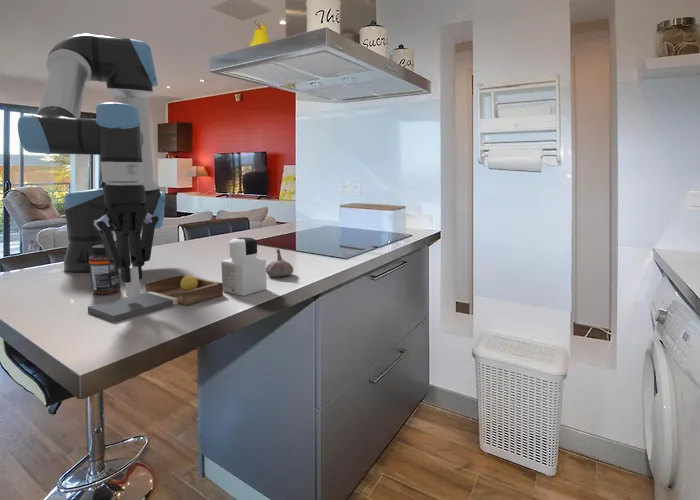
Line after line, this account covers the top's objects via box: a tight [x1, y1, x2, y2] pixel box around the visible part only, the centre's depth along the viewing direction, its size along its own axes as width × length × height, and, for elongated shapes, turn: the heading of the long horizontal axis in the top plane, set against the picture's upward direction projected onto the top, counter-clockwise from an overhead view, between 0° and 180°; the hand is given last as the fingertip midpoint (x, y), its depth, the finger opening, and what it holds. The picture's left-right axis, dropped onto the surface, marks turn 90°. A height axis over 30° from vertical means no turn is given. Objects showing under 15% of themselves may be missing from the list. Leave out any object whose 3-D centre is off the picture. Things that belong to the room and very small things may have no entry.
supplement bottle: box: [89, 245, 121, 296], centre depth 101 cm, size 6×6×11 cm
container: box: [221, 237, 268, 297], centre depth 103 cm, size 8×8×13 cm
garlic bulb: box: [266, 248, 294, 279], centre depth 119 cm, size 8×7×8 cm
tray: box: [145, 273, 224, 307], centre depth 100 cm, size 15×10×3 cm, turn 57°
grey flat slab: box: [87, 291, 179, 323], centre depth 90 cm, size 10×14×1 cm
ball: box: [180, 275, 198, 291], centre depth 101 cm, size 4×4×4 cm
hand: (133, 296), depth 90 cm, fingers closed
